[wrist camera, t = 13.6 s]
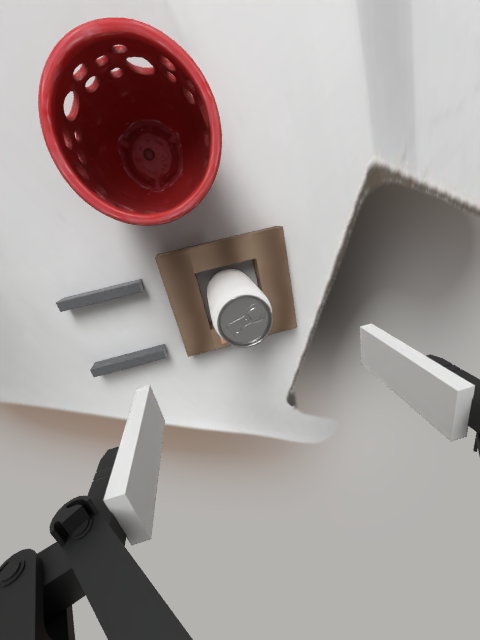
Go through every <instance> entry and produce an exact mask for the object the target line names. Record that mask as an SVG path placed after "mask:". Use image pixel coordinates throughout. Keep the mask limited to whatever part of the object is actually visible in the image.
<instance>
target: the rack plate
mask: <svg viewBox="0 0 480 640" xmlns="http://www.w3.org/2000/svg"><path fill="white" fill-rule="evenodd" d="M155 259H156V262H157V265H158V268H159V271H160V274H161V277H162V280H163V283H164V286H165V289H166V292H167V295H168V298H169V301H170V304H171V307H172V310H173V313H174V316H175V319H176V322H177V325H178V328H179V331H180V334H181V337H182V340H183V343H184V346H185V349H186V352H187V355H188V357H189V356H193V355H197V354H200V353H204V352H208V351H211V350H215V349H219V348H223V347H226V346H230V344H229V343H227V342H226V341H225V340H224V339H223V338H221V337H220V336H219V335H218V333H217V332H216V330H215V328H214V326H213V323H209V320H208V316H207V313H206V309H205V306H204V302H203V299H202V295H201V291H200V288H199V284H198V281H197V277H196V274H195V273H199V272H203V271H207V270H211V269H215V268H219V267H223V266H227V265H231V264H235V263H239V262H243V261H247V260H251V259H253V262H254V268H255V273H256V278H257V283H258V288H259V289H260V290H261V291H262V292H263V293H264V295H265V296H266V297H267V298H268V300H269V302H270V304H271V307H272V316H273V323H272V327H271V330H270V332H269V334H268V335H270V334H274V333H278V332H281V331H285V330H289V329H292V328H296V327H297V323H296V316H295V309H294V302H293V295H292V288H291V280H290V273H289V266H288V259H287V252H286V245H285V238H284V231H283V227H282V226H274V227H270V228H266V229H262V230H258V231H253V232H249V233H245V234H241V235H237V236H233V237H228V238H224V239H220V240H216V241H212V242H208V243H204V244H199V245H195V246H191V247H187V248H183V249H179V250H174V251H170V252H166V253H162V254H158V255H157V256H156V257H155Z"/></svg>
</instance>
